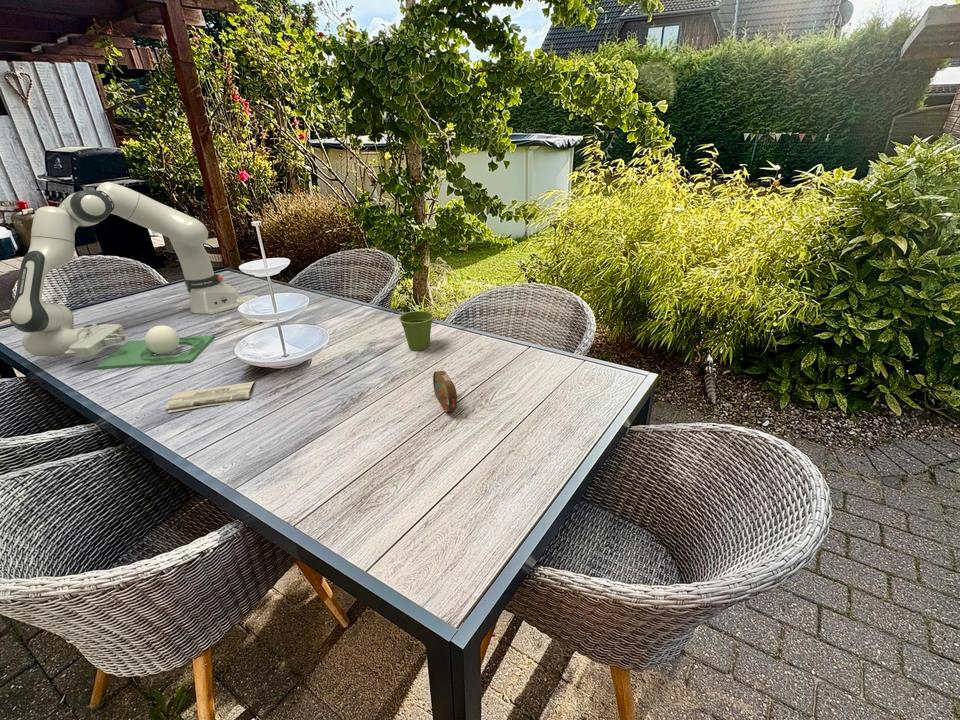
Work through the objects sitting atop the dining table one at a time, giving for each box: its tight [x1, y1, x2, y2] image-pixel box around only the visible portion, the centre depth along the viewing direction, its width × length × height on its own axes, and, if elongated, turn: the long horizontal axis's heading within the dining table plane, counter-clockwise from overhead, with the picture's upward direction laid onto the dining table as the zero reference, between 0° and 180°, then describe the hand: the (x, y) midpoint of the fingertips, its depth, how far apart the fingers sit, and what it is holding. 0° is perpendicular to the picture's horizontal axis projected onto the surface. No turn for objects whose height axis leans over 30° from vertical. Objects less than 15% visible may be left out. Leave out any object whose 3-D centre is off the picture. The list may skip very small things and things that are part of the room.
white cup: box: [237, 294, 260, 326], centre depth 191 cm, size 8×8×10 cm
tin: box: [432, 370, 458, 413], centre depth 133 cm, size 15×3×8 cm, turn 21°
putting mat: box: [95, 334, 216, 370], centre depth 170 cm, size 30×21×1 cm
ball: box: [144, 325, 180, 355], centre depth 167 cm, size 10×10×10 cm
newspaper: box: [164, 381, 256, 414], centre depth 141 cm, size 23×12×2 cm, turn 104°
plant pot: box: [398, 310, 435, 351], centre depth 166 cm, size 12×12×11 cm
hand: (123, 338), depth 166 cm, fingers closed
